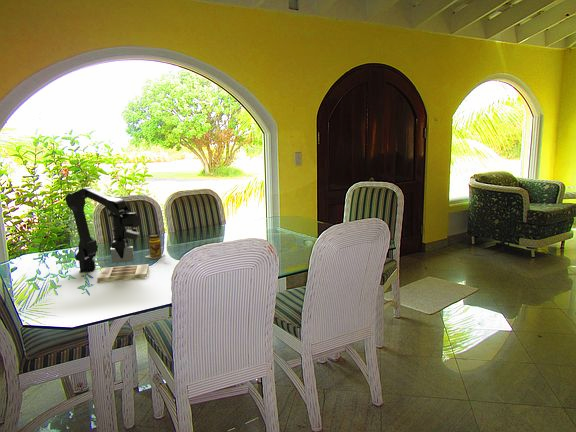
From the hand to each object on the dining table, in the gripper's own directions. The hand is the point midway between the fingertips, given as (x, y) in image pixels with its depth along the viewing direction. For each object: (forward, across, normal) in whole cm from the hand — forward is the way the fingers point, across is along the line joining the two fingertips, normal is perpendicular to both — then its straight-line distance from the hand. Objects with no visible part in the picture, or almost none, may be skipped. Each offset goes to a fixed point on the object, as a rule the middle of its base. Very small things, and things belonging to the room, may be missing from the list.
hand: (122, 257), depth 222 cm
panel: (+2, 0, 0) cm, 2 cm away
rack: (+9, 0, 0) cm, 9 cm away
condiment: (+9, +27, -13) cm, 32 cm away
